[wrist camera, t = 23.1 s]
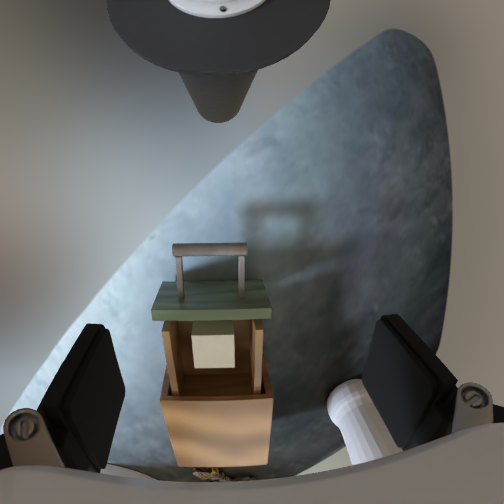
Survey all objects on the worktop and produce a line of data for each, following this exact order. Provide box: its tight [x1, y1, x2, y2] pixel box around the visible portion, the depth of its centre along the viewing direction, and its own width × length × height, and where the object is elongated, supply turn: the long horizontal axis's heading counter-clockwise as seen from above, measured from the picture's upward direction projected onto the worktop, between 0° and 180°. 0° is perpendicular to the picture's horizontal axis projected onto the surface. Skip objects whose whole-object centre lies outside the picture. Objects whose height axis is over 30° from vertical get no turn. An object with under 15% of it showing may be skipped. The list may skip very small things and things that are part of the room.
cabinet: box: [160, 354, 274, 467], centre depth 37 cm, size 15×13×9 cm
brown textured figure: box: [192, 467, 258, 482], centre depth 48 cm, size 15×9×2 cm, turn 45°
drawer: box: [151, 243, 272, 396], centre depth 32 cm, size 19×11×7 cm, turn 179°
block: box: [191, 320, 235, 368], centre depth 33 cm, size 4×4×4 cm
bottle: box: [327, 379, 403, 465], centre depth 30 cm, size 8×8×30 cm
